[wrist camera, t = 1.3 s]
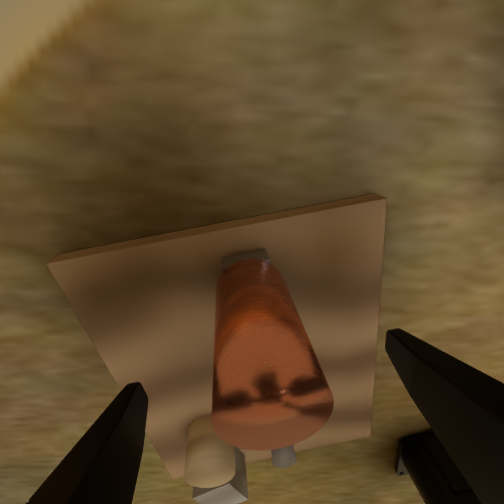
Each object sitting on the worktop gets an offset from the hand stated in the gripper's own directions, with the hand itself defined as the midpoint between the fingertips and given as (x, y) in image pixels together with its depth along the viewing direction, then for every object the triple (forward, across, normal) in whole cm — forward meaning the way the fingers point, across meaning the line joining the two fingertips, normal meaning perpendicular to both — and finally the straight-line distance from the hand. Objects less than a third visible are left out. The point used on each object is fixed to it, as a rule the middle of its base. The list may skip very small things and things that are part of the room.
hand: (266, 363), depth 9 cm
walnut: (+6, +5, +13) cm, 15 cm away
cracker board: (+7, +1, +8) cm, 11 cm away
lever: (+6, 0, +6) cm, 8 cm away
